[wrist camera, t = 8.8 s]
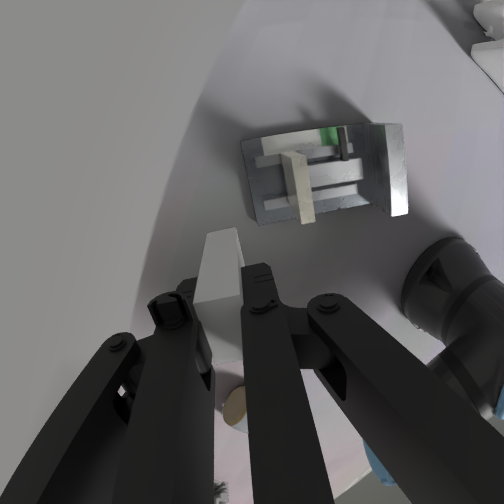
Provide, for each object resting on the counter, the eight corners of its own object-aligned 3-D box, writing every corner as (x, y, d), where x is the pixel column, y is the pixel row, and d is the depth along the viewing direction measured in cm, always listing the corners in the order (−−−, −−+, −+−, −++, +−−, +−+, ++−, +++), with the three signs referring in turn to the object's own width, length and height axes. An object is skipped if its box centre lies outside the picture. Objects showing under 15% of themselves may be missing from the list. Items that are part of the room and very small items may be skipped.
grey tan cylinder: (245, 374, 42) (248, 414, 35) (286, 390, 44) (294, 428, 37) (209, 406, 45) (208, 443, 38) (248, 420, 47) (251, 454, 40)
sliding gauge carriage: (351, 125, 27) (380, 126, 21) (359, 191, 30) (387, 207, 24) (274, 135, 27) (287, 137, 21) (287, 204, 30) (301, 224, 24)
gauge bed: (372, 122, 29) (402, 123, 23) (380, 198, 32) (407, 213, 27) (240, 141, 29) (243, 143, 23) (256, 222, 32) (263, 243, 27)
